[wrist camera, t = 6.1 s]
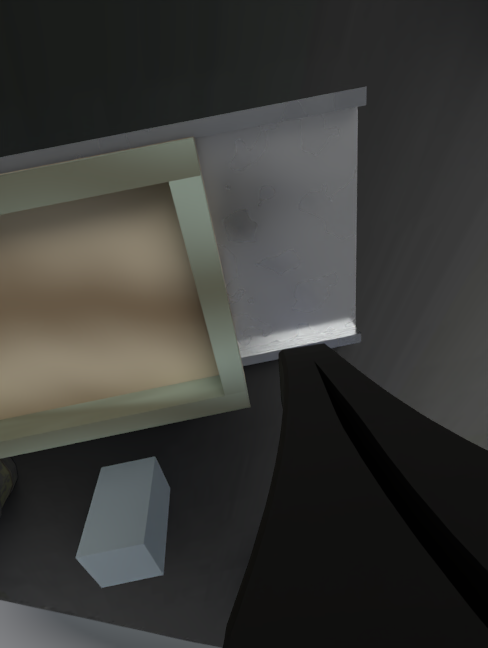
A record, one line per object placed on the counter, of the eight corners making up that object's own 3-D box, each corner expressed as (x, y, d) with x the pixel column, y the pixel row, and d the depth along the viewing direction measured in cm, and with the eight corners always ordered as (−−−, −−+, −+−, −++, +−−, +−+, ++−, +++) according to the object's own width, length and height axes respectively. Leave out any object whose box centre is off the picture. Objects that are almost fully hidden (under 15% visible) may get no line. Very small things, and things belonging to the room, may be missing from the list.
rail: (348, 325, 21) (383, 372, 17) (-8, 398, 20) (-56, 462, 16) (348, 90, 14) (403, 77, 10) (-166, 190, 14) (-304, 214, 10)
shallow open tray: (240, 351, 19) (250, 406, 15) (16, 397, 19) (-29, 464, 15) (194, 134, 14) (192, 138, 10) (-127, 197, 13) (-254, 225, 10)
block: (170, 488, 27) (163, 574, 22) (120, 498, 27) (101, 587, 21) (155, 456, 25) (143, 543, 19) (101, 467, 24) (75, 557, 19)
